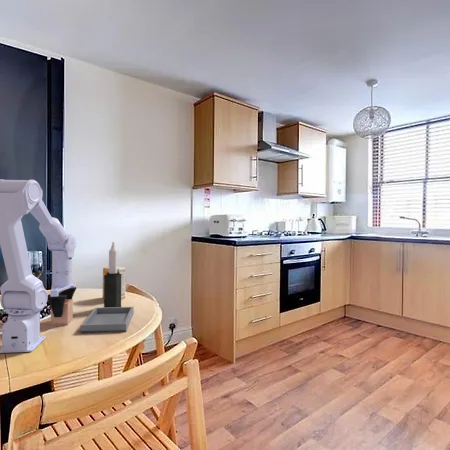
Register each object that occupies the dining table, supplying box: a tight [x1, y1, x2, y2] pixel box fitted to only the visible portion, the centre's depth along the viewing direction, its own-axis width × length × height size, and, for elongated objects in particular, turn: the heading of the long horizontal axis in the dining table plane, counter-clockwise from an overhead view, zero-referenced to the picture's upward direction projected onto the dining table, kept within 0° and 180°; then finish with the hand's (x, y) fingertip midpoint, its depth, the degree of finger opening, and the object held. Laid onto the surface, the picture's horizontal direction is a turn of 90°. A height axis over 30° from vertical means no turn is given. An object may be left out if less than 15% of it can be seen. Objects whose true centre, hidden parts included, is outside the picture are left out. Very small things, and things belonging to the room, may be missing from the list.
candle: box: [103, 241, 122, 307], centre depth 121 cm, size 5×5×25 cm
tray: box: [80, 306, 135, 334], centre depth 106 cm, size 18×13×2 cm
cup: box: [50, 298, 74, 327], centre depth 105 cm, size 5×5×7 cm
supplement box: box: [102, 266, 127, 301], centre depth 135 cm, size 8×5×13 cm, turn 73°
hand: (62, 313), depth 105 cm, fingers open, 7 cm apart
